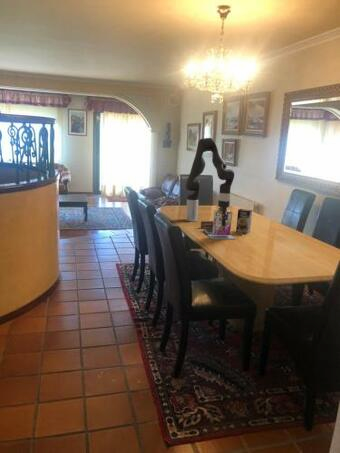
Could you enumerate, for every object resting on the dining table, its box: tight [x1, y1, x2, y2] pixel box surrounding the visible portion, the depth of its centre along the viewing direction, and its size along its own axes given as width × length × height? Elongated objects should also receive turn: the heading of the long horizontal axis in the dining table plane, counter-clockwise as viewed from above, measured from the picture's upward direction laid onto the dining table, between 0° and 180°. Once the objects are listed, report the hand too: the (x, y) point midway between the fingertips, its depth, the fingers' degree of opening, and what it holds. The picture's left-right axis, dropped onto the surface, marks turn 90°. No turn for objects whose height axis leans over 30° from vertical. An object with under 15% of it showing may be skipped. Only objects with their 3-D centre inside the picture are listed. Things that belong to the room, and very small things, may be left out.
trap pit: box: [203, 228, 214, 236], centre depth 259 cm, size 10×16×2 cm, turn 100°
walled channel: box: [200, 220, 214, 230], centre depth 270 cm, size 11×14×5 cm
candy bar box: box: [213, 209, 233, 235], centre depth 247 cm, size 11×5×16 cm, turn 100°
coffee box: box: [235, 208, 253, 234], centre depth 267 cm, size 9×6×16 cm
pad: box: [207, 234, 236, 240], centre depth 249 cm, size 10×16×1 cm, turn 100°
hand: (222, 224), depth 247 cm, fingers closed on candy bar box, 5 cm apart
